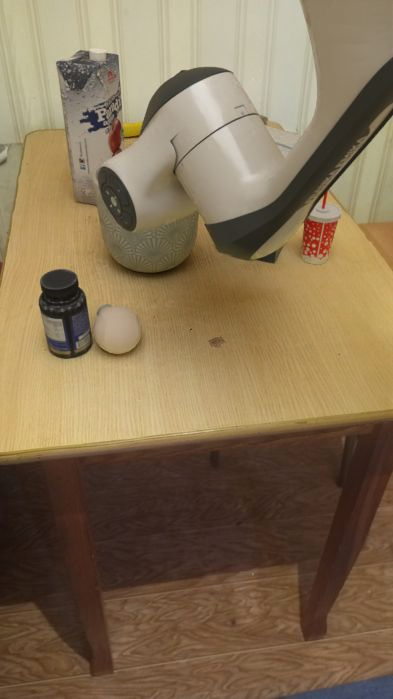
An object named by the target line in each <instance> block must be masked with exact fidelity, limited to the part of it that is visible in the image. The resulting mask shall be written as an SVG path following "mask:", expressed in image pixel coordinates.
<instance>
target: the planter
mask: <svg viewBox="0 0 393 699" xmlns="http://www.w3.org/2000/svg"><path fill="white" fill-rule="evenodd" d="M107 160H108V159H107ZM107 160H105V161H107ZM105 161H103V162H102V163H100V164H99V165H97V166H96V167H95V169H94V170H93V172H92V183H93V188H94V194H95V199H96V204H97V205H96V210H97V215H98V220H99V226H100V232H101V236H102V239H103V242H104V245H105V247H106V249H107V252H108V253H109V254H110V257H112V259H114V261H116V262H117V263H118V264H119V265H121V266H122V267H124V268H126V269H128V270H131V271H134V272H140V273H145V274H146V273H147V274H155V273H162V272H165V271H168V270H171V269H174V268H175V267H177V266H179V265H181V263H183V262H184V261H185V260H186V259H187V258H188V257H189V255H190V254H191V252H192V251H193V248H194V246H195V243H196V240H197V235H198V227H199V217H200V214H199V212H198V211H195V212H194V213H193V214H191V215H189V216H187V217H185V218H182V219H180V220H178V221H175V222H173V223H170V224H167V225H164V226H161V227H158V228H154V229H151V230H147V231H142V232H129V231H126V230H125V229H123V228H122V227H121V226H120V225H119V224H118V223H117V222H116V221H115V219H114V218H113V216H112V215H111V213H110V212H109V210H108V208H107V207H106V205H105V203H104V201H103V199H102V196H101V193H100V189H99V185H98V172H99V169H100V167H101V165H102V164H103V163H104V162H105Z"/></svg>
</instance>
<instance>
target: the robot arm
mask: <svg viewBox="0 0 393 699" xmlns="http://www.w3.org/2000/svg"><path fill="white" fill-rule="evenodd" d="M299 4H300V7H301V10H302V15H303V17H304V21H305V25H306V28H307V32H308V36H309V41H310V46H311V51H312V56H313V57H312V58H313V62H314V63H313V64H314V70H315V78H316V103H315V109H314V111H313V112H314V113H313V116H312V118H311V120H310V122H309V124H308V126H306V128H305V129H304V131H303V132H302V134H301V135H297V134H295V133H291V132H288V131H285V130H282V129H279V128H276V127H273V126H270V125H268V122H269V118H268V117H267V116H264V115H262V114H260V113H259V112H258V110H257V108H256V107H255V105H254V103H253V102H252V100H251V98H250V97H249V95H248V94H247V92H246V90H245V89H244V87H243V86H242V84H241V82H240V81H239V79H238V78H237V77H236V76H235V74H234V72H233V71H232V70H229V69H227V68H224V67H218V66H197V67H193V68H190V69H186V70H187V71H184V72H182V73H180V74H177V73H176V74H177V75H176V74H175V75H174V76H172V77H169V79H167V80H166V81H164V82H162V84H161V85H160V86H158V88H157V89H156V91H155V92H154V93H153V95H152V96H151V98H150V100H149V102H148V104H147V107H146V109H145V110H146V111H145V114H144V117H143V120H142V121H143V123H142V127H141V131H140V135H139V136H138V137H137V138H136V140H134V142H132V143H131V144H130V145H129V146H127V147H125V150H123V151H122V152H120V153H118V154H117V155H115V156H113V157H111V158H110V159H108V160H107V161H105V162H104V163H103V164H102V165H101V167H100V169H99V172H98V185H99V189H100V193H101V196H102V199H103V201H104V203H105V205H106V207H107V208H108V210H109V212H110V213H111V215H112V216H113V218H114V219H115V221H116V222H117V223H118V224H119V225H120V226H121V227H122V228H123V229H125V230H126V231H129V232H142V231H147V230H151V229H154V228H158V227H161V226H164V225H167V224H170V223H173V222H175V221H178V220H180V219H182V218H185V217H187V216H189V215H191V214H193V213H194V212H195V211H198V212H199V217H201V219H202V221H203V222H204V226H205V228H206V231H207V233H208V234H209V237H210V238H211V241H212V242H213V246H214V247H215V249H216V251H217V252H219V253H222V254H224V255H227V256H229V257H231V258H235V259H238V260H242V261H247V262H253V261H255V260H256V259H258V258H261V257H264V256H266V255H269V254H271V253H272V252H274V251H276V250H277V249H279V248H280V247H282V246H283V247H284V246H285V245H286V244H287V243H288V242H289V241H290V240H292V238H293V237H294V236H295V235H296V234H297V232H298V231H299V230H300V228H301V227H302V225H304V222H305V221H306V219H307V218H308V217H309V215H310V214H311V212H312V211H313V209H314V208H315V206H316V205H317V203H318V202H319V201H321V200H322V198H324V195H325V193H326V192H327V191H328V192H329V190H330V189H331V188H332V187H333V186H334V184H335V183H336V182H337V181H338V180H339V179H340V177H341V176H342V175H343V174H344V173H345V172H346V171H347V170H348V169H349V168H350V167H351V165H352V164H353V163H354V162H355V160H356V159H358V157H359V156H360V155H361V154H362V153H363V151H364V150H365V149H366V148H367V147H368V146H369V144H370V143H371V142H372V141H374V139H375V138H376V136H377V135H378V134H379V133H380V131H382V129H383V128H384V127H385V126H386V125H387V124H388V122H390V120H391V119H392V118H393V0H299ZM283 247H282V248H283Z"/></svg>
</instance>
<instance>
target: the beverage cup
mask: <svg viewBox="0 0 393 699" xmlns="http://www.w3.org/2000/svg"><path fill="white" fill-rule="evenodd" d="M328 192H329V190H328V191H327V192H326V193H325V195H324V196H323V197H322V198H323V200H320V201H319V202H318V203H317V205H316V206H315V208H314V209H313V211H312V212H311V214H310V215H309V217H308V218H307V219H306V221H305V222H304V223H303V229H302V241H301V252H300V253H301V254H300V258H301V260H302V261H304V262H305V263H308V264H311V265H323V264H325V263H326V262H328V260H329V256H330V252H331V248H332V244H333V241H334V238H335V234H336V230H337V226H338V223H339V220H341V218H342V213H343V210H342V208H341V207H340V206H339V205H337V204H335V203H332V202H329V201H327V198H328Z"/></svg>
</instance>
